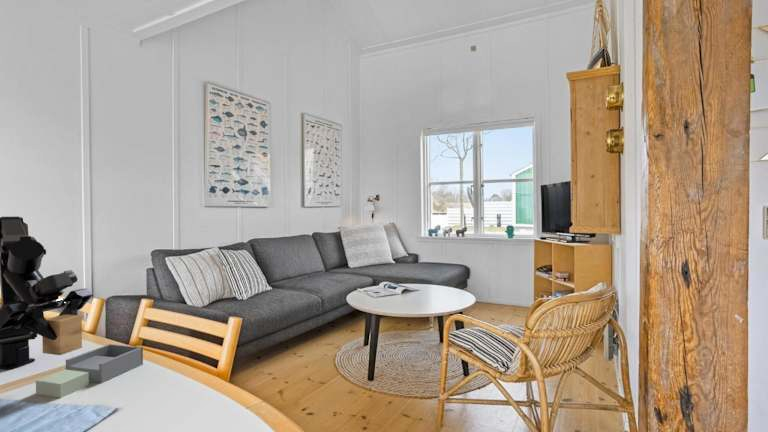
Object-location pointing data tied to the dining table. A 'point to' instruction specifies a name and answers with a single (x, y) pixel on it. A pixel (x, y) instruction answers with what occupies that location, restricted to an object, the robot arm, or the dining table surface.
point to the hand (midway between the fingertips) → (67, 335)
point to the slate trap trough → (106, 361)
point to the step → (62, 383)
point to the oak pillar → (64, 334)
